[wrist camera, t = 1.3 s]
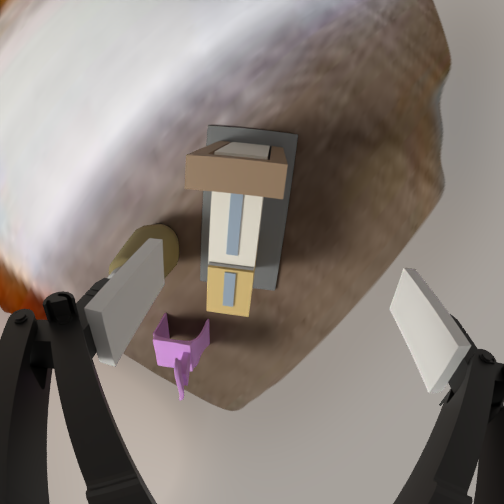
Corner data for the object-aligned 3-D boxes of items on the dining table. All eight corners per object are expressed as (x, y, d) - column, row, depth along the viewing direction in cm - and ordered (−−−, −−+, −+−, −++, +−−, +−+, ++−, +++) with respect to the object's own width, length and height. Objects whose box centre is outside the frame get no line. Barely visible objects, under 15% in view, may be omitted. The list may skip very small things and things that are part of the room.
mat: (208, 125, 37) (207, 125, 37) (297, 134, 37) (298, 134, 36) (200, 279, 48) (200, 280, 47) (274, 289, 47) (274, 290, 47)
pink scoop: (161, 307, 51) (130, 367, 37) (209, 314, 51) (189, 378, 37) (166, 341, 55) (141, 399, 41) (209, 347, 54) (193, 410, 41)
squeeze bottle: (132, 247, 46) (73, 311, 30) (149, 207, 43) (85, 261, 27) (173, 272, 47) (130, 347, 31) (194, 234, 44) (151, 302, 28)
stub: (225, 227, 43) (207, 267, 32) (259, 231, 43) (253, 273, 32) (222, 263, 45) (206, 311, 34) (255, 268, 45) (248, 317, 34)
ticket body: (219, 140, 38) (186, 154, 24) (283, 147, 37) (287, 164, 23) (213, 223, 43) (183, 278, 29) (272, 230, 43) (269, 289, 29)
